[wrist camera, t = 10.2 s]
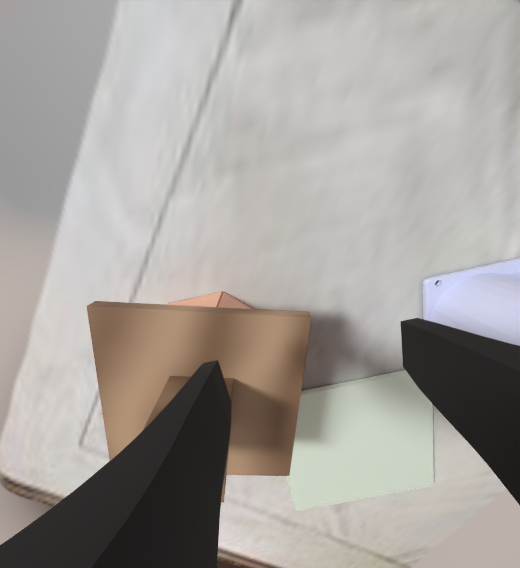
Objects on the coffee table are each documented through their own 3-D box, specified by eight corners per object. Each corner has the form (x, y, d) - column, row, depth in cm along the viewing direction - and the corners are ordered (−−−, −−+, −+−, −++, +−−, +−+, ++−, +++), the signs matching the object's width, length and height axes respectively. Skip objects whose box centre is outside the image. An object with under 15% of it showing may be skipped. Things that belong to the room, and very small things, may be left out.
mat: (428, 365, 22) (432, 368, 22) (430, 480, 26) (433, 485, 26) (266, 397, 23) (266, 402, 22) (294, 505, 27) (295, 511, 27)
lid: (308, 311, 15) (336, 362, 10) (287, 465, 19) (300, 557, 14) (95, 301, 15) (12, 349, 10) (117, 461, 18) (66, 557, 13)
